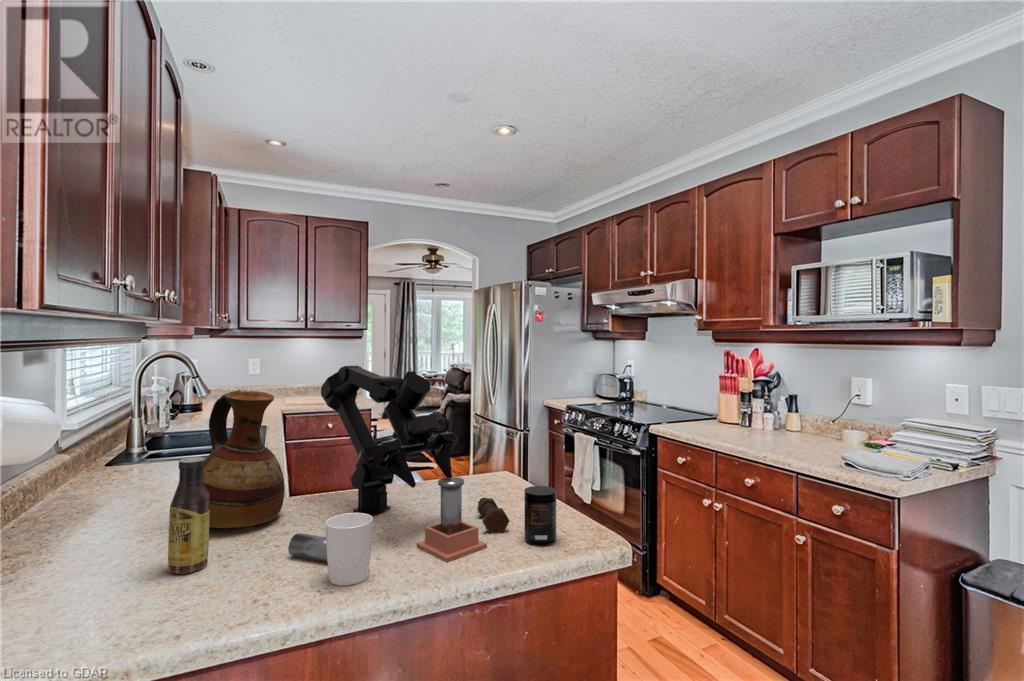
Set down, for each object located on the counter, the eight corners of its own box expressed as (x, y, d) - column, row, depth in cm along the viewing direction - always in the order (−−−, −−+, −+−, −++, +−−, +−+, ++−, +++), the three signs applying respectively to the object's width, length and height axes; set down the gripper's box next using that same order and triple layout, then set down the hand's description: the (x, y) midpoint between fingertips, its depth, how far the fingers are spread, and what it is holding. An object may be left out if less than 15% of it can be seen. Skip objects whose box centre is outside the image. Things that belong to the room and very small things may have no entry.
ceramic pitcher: (235, 544, 104) (236, 397, 104) (163, 531, 111) (164, 393, 111) (303, 513, 123) (304, 388, 123) (238, 504, 129) (239, 386, 130)
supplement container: (553, 533, 111) (553, 485, 111) (559, 546, 104) (559, 494, 104) (522, 534, 110) (522, 486, 110) (526, 547, 103) (526, 495, 103)
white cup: (326, 591, 85) (327, 530, 85) (323, 571, 92) (324, 515, 92) (375, 582, 88) (375, 524, 88) (369, 564, 95) (369, 510, 95)
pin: (304, 549, 102) (289, 560, 98) (302, 529, 101) (287, 540, 97) (356, 557, 98) (342, 569, 94) (354, 536, 97) (340, 548, 93)
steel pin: (434, 547, 101) (434, 483, 101) (443, 537, 106) (443, 476, 106) (459, 549, 100) (459, 484, 100) (467, 539, 105) (467, 478, 105)
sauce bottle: (159, 573, 91) (159, 461, 91) (192, 559, 97) (192, 454, 97) (185, 578, 89) (186, 464, 89) (217, 564, 95) (218, 456, 95)
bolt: (487, 518, 125) (500, 539, 111) (469, 509, 124) (480, 529, 110) (498, 497, 126) (513, 515, 112) (481, 487, 125) (493, 504, 111)
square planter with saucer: (416, 547, 103) (416, 527, 103) (455, 534, 110) (455, 515, 110) (446, 562, 96) (446, 540, 96) (486, 547, 103) (486, 527, 103)
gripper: (381, 403, 105) (410, 468, 97) (453, 396, 118) (484, 453, 110) (361, 436, 110) (388, 499, 103) (432, 426, 123) (461, 482, 116)
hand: (432, 482), depth 108 cm, fingers open, 9 cm apart
